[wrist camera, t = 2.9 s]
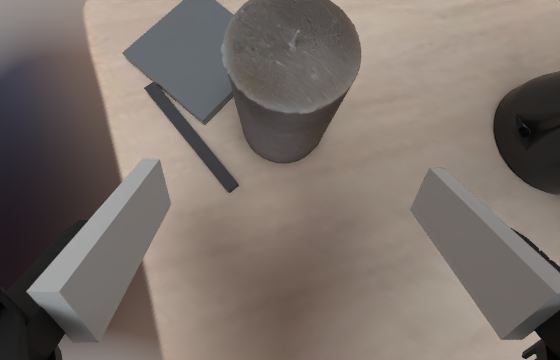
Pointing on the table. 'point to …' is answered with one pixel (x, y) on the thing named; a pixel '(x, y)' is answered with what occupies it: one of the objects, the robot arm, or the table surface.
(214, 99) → the slate pad
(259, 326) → the table surface
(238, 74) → the pillar candle
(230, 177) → the bar
